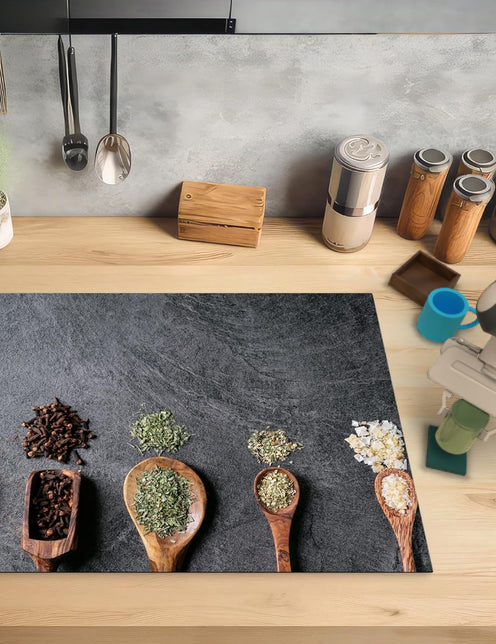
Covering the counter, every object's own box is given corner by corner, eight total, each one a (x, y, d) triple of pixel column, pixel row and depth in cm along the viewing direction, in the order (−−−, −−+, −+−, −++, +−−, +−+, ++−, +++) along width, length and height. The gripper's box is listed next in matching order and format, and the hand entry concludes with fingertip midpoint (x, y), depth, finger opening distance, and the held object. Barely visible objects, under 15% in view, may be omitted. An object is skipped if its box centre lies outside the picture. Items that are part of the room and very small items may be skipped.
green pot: (478, 439, 136) (497, 414, 128) (458, 461, 133) (477, 436, 126) (447, 418, 138) (464, 391, 131) (428, 438, 136) (444, 413, 129)
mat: (428, 427, 143) (429, 424, 142) (465, 435, 141) (467, 433, 141) (425, 467, 137) (427, 464, 137) (464, 476, 136) (466, 473, 135)
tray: (455, 285, 164) (461, 274, 161) (428, 311, 160) (433, 300, 157) (415, 260, 169) (419, 249, 166) (387, 284, 164) (391, 274, 162)
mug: (417, 340, 155) (429, 315, 149) (415, 310, 160) (426, 285, 153) (476, 347, 154) (490, 322, 147) (472, 317, 159) (486, 292, 152)
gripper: (449, 331, 129) (406, 397, 133) (564, 394, 121) (514, 462, 125) (452, 332, 135) (411, 395, 138) (562, 392, 127) (515, 457, 130)
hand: (461, 427), depth 131 cm, fingers closed on green pot, 6 cm apart
